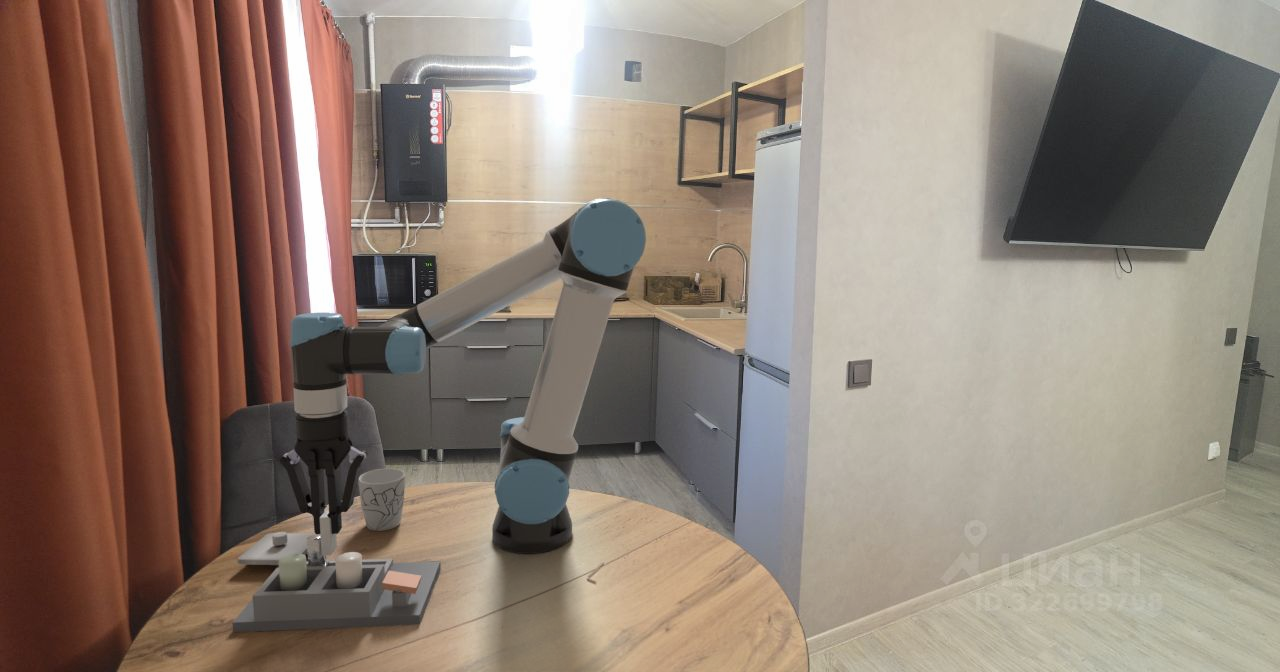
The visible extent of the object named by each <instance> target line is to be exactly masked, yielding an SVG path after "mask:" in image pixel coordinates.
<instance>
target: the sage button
mask: <svg viewBox="0 0 1280 672" xmlns="http://www.w3.org/2000/svg"><path fill="white" fill-rule="evenodd" d="M306 561H307V557H306V555H303V554H291V555H287V556H285V557H283V558H281V559H280V560H279V565H278V568H279V577H280V588H281V590H283V591H294V590H298V589H300V588H302V587H304V586H305V585H306V584H307V567H306Z"/></svg>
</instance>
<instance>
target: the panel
mask: <svg viewBox="0 0 1280 672" xmlns="http://www.w3.org/2000/svg"><path fill="white" fill-rule="evenodd" d="M326 562H329V564H330V566H312V567H308V560H306V567H307V584H306V585H305V586H304V587H302V588H300V589H298V590H294V591H283V590H281V588H280V577H279V567H276V568H275V569H274V571H273V572H272V573H271V574H270V575H269V576H268V577H267V578H266V580H265V581H264V583H262V584H261V586H259V588H257V590H256V591H255V592H254V594H253V595H252V599H251V600H250V601H249V603H248V604H247V605H246V606H245V607H244V609H242V611H240V613H239V614H238V615H237V617H235V619H234V620H233V621H232V622H231V623H232V633H243V632H244V633H245V632H271V631H273V632H274V631H295V630H317V629H322V630H323V629H338V628H339V629H342V628H343V629H345V628H364V627H365V628H368V627H387V626H389V627H390V626H391V627H393V626H413V625H414V626H415V625H418V626H419V625H421V623H422V620H423V617H424V615H425V613H426V610H427V606H428V605H429V601H430V600H431V599H430V598H431V595H432V594H433V590H434V588H435V586H436V583H437V580H438V578H439V575H440V572H441V570H442V569H441V568H442V567H441V561H412V562H411V561H410V562H407V561H406V562H394V559H393V558H375V559H373V558H371V559H370V558H369V559H362V577H363V581H362V583H361V584H360V585H359V586H357V587H354V588H350V589H340V588H338V587H337V583H336V564H335V560H326ZM388 571H395V572H402V573H408V574H414V575H421V581H420V584H419V586H418V588H417V591H416V593H415V594H411V593H404V592H400V593H399V594H397V593H396V592H395V591H391V590H385V589H381V587H382V582H383V580H384V579H385V577H386V575H387V573H388Z"/></svg>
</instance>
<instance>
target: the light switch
mask: <svg viewBox="0 0 1280 672" xmlns="http://www.w3.org/2000/svg"><path fill="white" fill-rule="evenodd" d="M314 534H315V533H294V532H293V533H288V532H286V531H278V532H269V533H266V534H264V536H263V537H261V538H260V539H259V540H258V541H256V542H255V543H254V544H253V545H252V546H251V547H249V548H248V549H247V550H246V551H245V552H243V553H242V554H241V555H240V556H239V557H237V564H238V565H252V566H253V565H254V566H255V565H256V566H259V565H261V566H264V565H265V566H267V565H269V566H279V560H280V559H281V558H283V557H285V556H287V555H291V554H303V555H305V556H306V555H308V552H307V537H309V536H311V535H314Z"/></svg>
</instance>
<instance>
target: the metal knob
mask: <svg viewBox="0 0 1280 672" xmlns="http://www.w3.org/2000/svg"><path fill="white" fill-rule="evenodd" d="M313 534H314V535H311V536H309V537H307V552H308V553H307V561H308V567H312V566H330V564H329V562H326V561H327V557H326V556H322V552H321V534H315V533H313Z"/></svg>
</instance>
